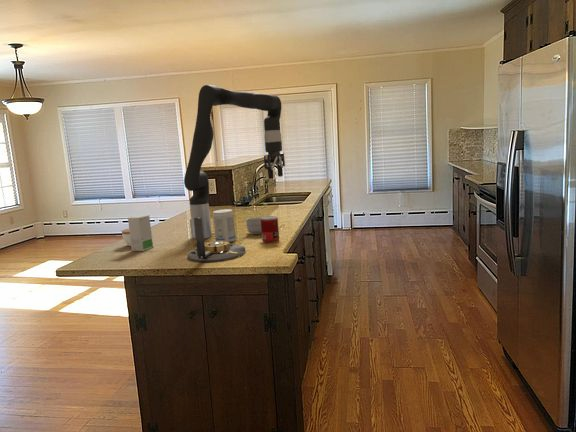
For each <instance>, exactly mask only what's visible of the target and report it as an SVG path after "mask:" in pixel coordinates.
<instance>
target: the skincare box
mask: <svg viewBox="0 0 576 432" xmlns="http://www.w3.org/2000/svg"><path fill="white" fill-rule="evenodd" d="M127 221H128V229H129V231H130V239H131V247H130V248H131V251H132V252H144V251H146V249H147V250H149V248H150V249H152V247H153V248H154V243H153V242H154V241H153V236H152V227H151V219H150V214H145V215H143V214H142V215H135V216H131V217H128V218H127ZM143 250H144V251H143Z"/></svg>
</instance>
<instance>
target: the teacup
mask: <svg viewBox="0 0 576 432" xmlns="http://www.w3.org/2000/svg"><path fill="white" fill-rule="evenodd" d="M262 217H263V216H259V217H257V216H256V217H250V218H246V219H245V220H246V221H245V222H246V229H247V231H248V233H249V234H251V235H262V231H261V218H262Z"/></svg>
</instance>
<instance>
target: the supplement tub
mask: <svg viewBox="0 0 576 432" xmlns="http://www.w3.org/2000/svg"><path fill="white" fill-rule="evenodd" d="M212 214H213V215H212V218H213V219H212V220H213V226H214V237H215V241H216V242H218V241H225V242H226V241H227V242H229V243H233V242H234V241H235V240H236V238H237V237H236V228H235V219H234V212H233V209H227V208H225V209H217V210H214V211H213V212H212Z"/></svg>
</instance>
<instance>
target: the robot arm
mask: <svg viewBox="0 0 576 432" xmlns="http://www.w3.org/2000/svg"><path fill="white" fill-rule="evenodd" d="M280 98H281V97H279V96H278V95H277V94H276V95H275V94H267V93H265V94H264V93H257V92H250V91H235V90H230V89H226V88H224V87H220V86H218V85H213V84H205V85H203V86H201V88H200V90H199V93H198V99H197V112H196V113H197V114H196V119H195V126H194V132H193V135H192V136H193V137H192V144H191V150H190V155H189V159H188V163H187V167H186V171H185V173H184V178H183V179H184V180H183V185H184V188H186V190H188V191H190V192H193V195H192V196H190V198H189V202H188V203H189V208H190V219H189V224H190V226H189V227H190V235H191V239H195V240H196V238H195V228H194V218H196V217H202V224H203V234H204V239H208V238H211V237H212V236H213V235H212V226H211V225H212V223H211V215H210V204H209V199H210V182H209V178H208V177H209V176H208V174H207V173H206V172H204V171H202V170H201V168H202V166H203V163H204V161H205V160H206V158H207V156H208V155H209V153H210V151H211V150H212V147H213V146H212V145H213V142H214V141H213V140H214V129H213V128H214V127H213V125H212V120H211V119H212V118H211V116H212V111H213V110H212V108H213V107H216V106H225V105H230V106H231V105H232V106H236V107H240V108H245V109H249V110H250V109H252V110H260V111H264V112H267V115H266V117H265V118H264V120H263V126H264V127H263V130H264V147H265V148H264V150H265V152H266V153H267V154H264V156H263V157H264V159H263V161H264V164H263V165H264V169H265V170H267V175H268V177H267V178H268V180H269V179H270V180H271V179H274V167H275V166H276V167H277V177H280V178H281V177H283V176H284V173H283V168H284V167H285V166H286V161H285V160H286V159H285V153H283V141H282V140H283V139H282V133H281V132H282V131H281V120H280V119H281V116H282V115H281V114H282V101H281V99H280Z"/></svg>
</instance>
